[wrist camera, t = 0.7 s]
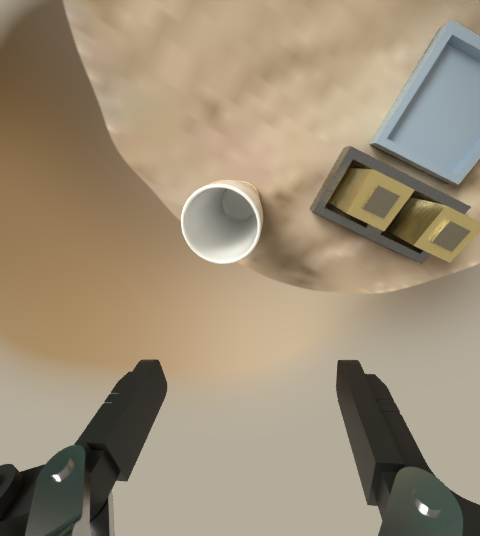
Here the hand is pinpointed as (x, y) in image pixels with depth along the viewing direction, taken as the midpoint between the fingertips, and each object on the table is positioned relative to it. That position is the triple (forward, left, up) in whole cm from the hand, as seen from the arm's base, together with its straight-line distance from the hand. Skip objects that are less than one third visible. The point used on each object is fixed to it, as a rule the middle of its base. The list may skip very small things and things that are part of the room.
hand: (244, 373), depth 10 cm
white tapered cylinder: (-2, -4, -26) cm, 26 cm away
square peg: (-9, +9, -26) cm, 29 cm away
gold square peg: (-9, +17, -26) cm, 32 cm away
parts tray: (-20, +13, -26) cm, 35 cm away
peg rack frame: (-9, +13, -26) cm, 30 cm away
